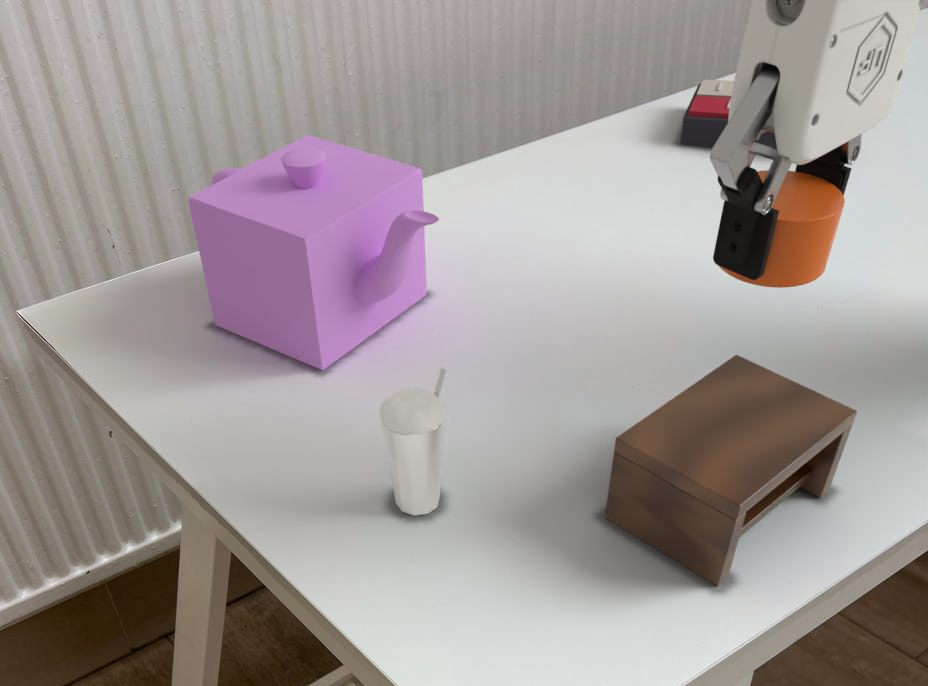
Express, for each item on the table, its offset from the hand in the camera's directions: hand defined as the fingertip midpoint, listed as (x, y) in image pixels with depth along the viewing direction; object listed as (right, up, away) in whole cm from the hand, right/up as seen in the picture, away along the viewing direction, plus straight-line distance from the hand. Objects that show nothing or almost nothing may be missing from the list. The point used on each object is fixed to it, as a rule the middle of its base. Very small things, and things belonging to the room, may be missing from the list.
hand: (773, 246), depth 58 cm
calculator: (+16, +36, +56) cm, 69 cm away
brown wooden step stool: (0, -14, +13) cm, 19 cm away
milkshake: (-22, -13, +14) cm, 29 cm away
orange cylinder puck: (0, -1, +1) cm, 1 cm away
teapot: (-30, +6, +32) cm, 44 cm away
